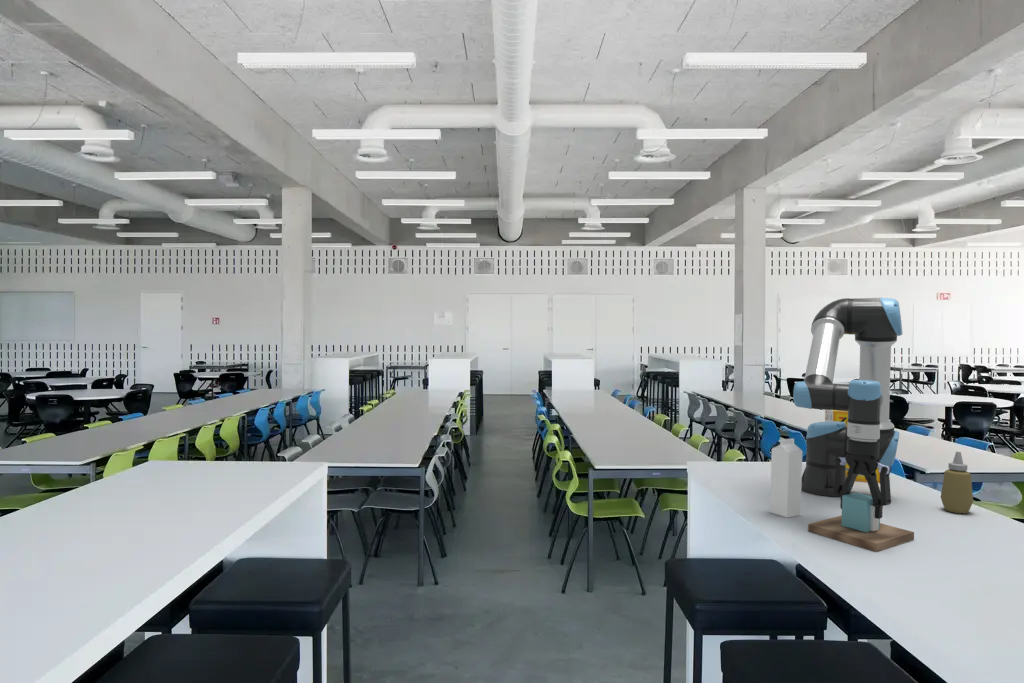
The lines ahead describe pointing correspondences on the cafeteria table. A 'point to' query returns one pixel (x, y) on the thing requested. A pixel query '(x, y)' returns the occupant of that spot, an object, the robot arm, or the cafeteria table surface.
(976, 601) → the cafeteria table surface
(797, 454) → the milk
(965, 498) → the squeeze bottle
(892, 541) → the walnut stand
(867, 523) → the teal block
